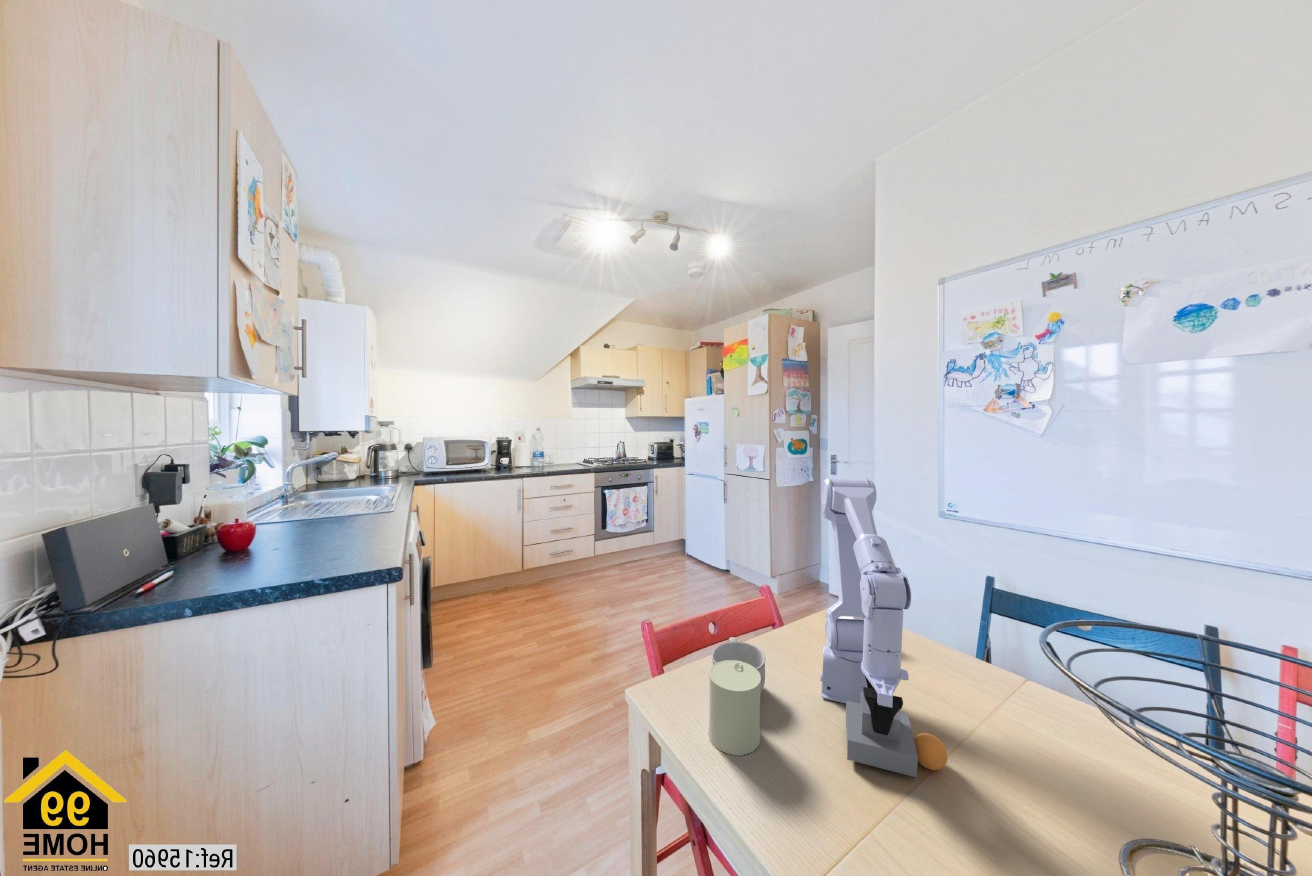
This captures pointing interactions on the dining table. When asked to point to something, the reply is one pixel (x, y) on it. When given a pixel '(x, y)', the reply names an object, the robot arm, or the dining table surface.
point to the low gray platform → (880, 740)
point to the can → (734, 707)
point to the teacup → (741, 655)
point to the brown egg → (930, 751)
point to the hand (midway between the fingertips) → (878, 719)
